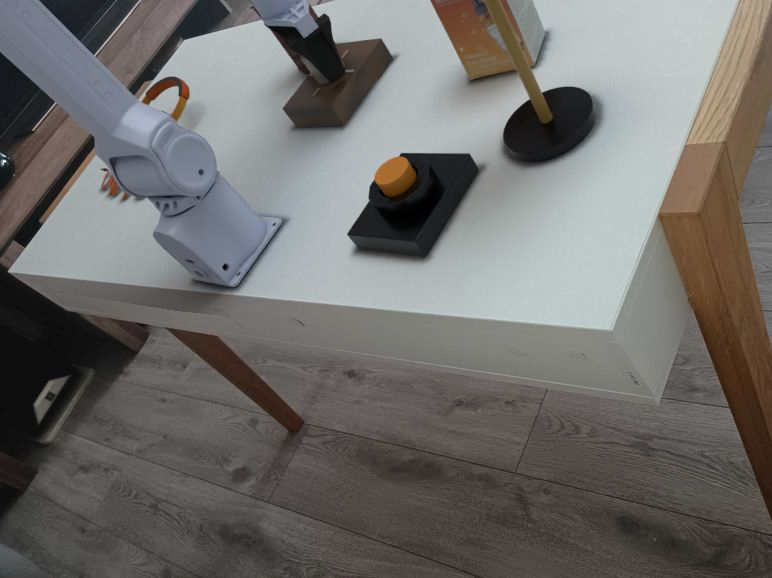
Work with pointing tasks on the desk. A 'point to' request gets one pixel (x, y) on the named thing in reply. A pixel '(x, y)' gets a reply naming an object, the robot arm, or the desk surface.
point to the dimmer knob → (316, 71)
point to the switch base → (415, 205)
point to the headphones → (177, 112)
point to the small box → (489, 34)
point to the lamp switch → (395, 176)
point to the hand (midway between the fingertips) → (328, 68)
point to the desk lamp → (541, 107)
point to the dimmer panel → (339, 86)
